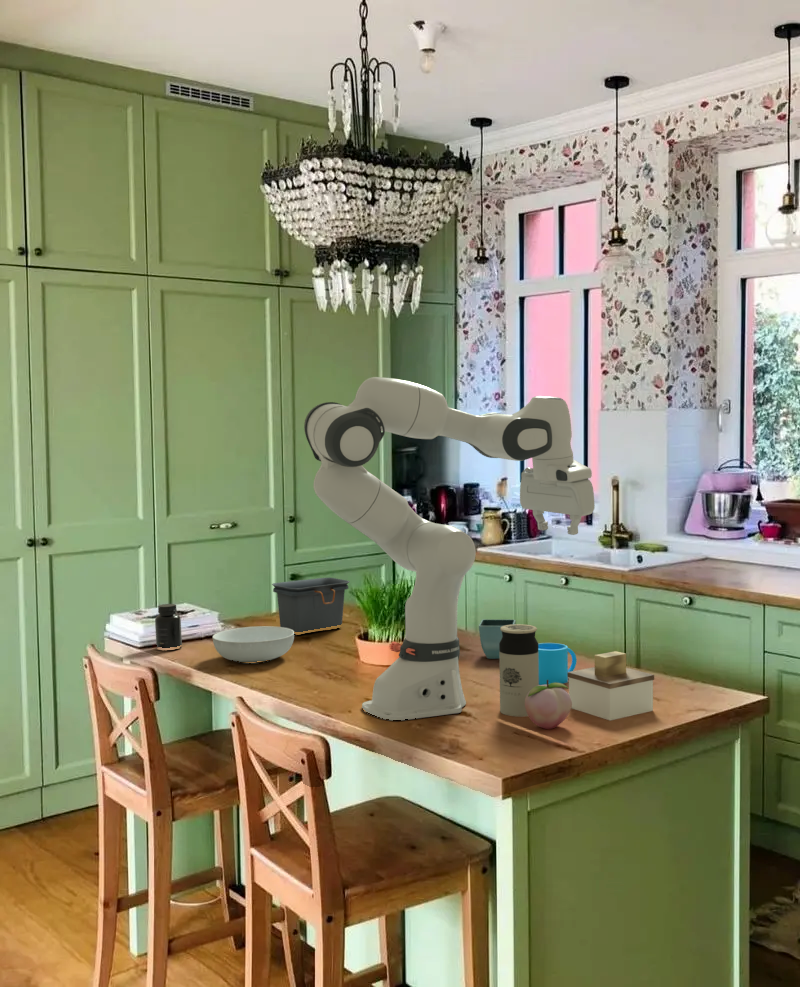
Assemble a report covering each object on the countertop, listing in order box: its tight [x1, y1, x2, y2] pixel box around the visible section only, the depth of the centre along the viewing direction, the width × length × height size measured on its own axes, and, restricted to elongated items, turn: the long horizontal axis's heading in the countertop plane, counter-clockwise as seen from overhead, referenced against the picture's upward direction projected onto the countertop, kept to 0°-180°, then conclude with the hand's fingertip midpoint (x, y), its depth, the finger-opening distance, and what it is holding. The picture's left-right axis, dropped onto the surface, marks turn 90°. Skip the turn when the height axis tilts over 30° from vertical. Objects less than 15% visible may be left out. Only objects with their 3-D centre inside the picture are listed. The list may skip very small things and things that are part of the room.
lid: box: [567, 650, 655, 689], centre depth 222 cm, size 12×12×5 cm
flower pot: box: [478, 618, 517, 660], centre depth 274 cm, size 9×9×9 cm
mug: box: [538, 642, 578, 685], centre depth 249 cm, size 12×8×8 cm
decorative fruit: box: [525, 680, 572, 730], centre depth 210 cm, size 9×8×10 cm
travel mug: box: [498, 623, 539, 718], centre depth 221 cm, size 8×8×18 cm
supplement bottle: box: [154, 603, 183, 648], centre depth 291 cm, size 7×7×12 cm
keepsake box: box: [568, 677, 654, 721], centre depth 222 cm, size 12×12×7 cm
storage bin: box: [271, 577, 350, 632], centre depth 312 cm, size 21×16×14 cm
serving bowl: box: [212, 625, 295, 663], centre depth 277 cm, size 21×21×7 cm
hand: (557, 531), depth 236 cm, fingers open, 8 cm apart
